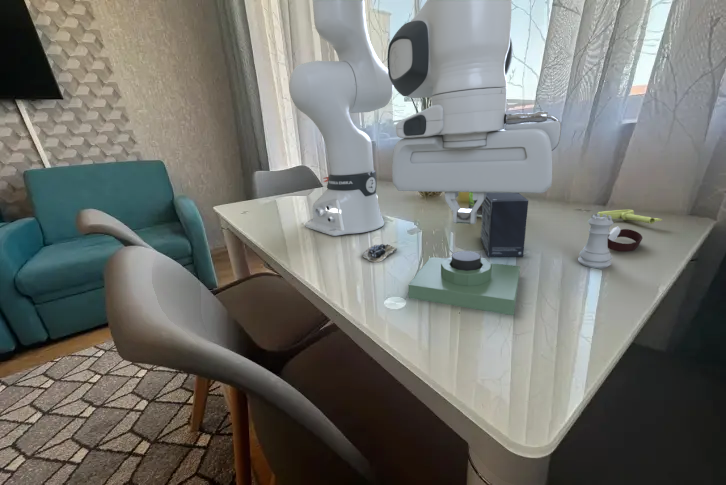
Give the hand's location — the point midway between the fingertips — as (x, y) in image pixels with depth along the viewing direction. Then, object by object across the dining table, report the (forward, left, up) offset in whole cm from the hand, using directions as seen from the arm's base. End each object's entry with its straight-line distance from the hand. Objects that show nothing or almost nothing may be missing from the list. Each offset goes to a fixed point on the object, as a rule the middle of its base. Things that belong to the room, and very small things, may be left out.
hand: (464, 222), depth 45 cm
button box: (0, 0, -10) cm, 10 cm away
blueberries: (-20, +5, -10) cm, 23 cm away
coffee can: (-12, +43, -10) cm, 46 cm away
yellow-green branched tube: (+17, +46, -9) cm, 50 cm away
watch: (+17, +28, -10) cm, 34 cm away
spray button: (0, 0, -7) cm, 7 cm away
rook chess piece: (+14, +18, -10) cm, 25 cm away
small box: (-1, +19, -10) cm, 22 cm away
